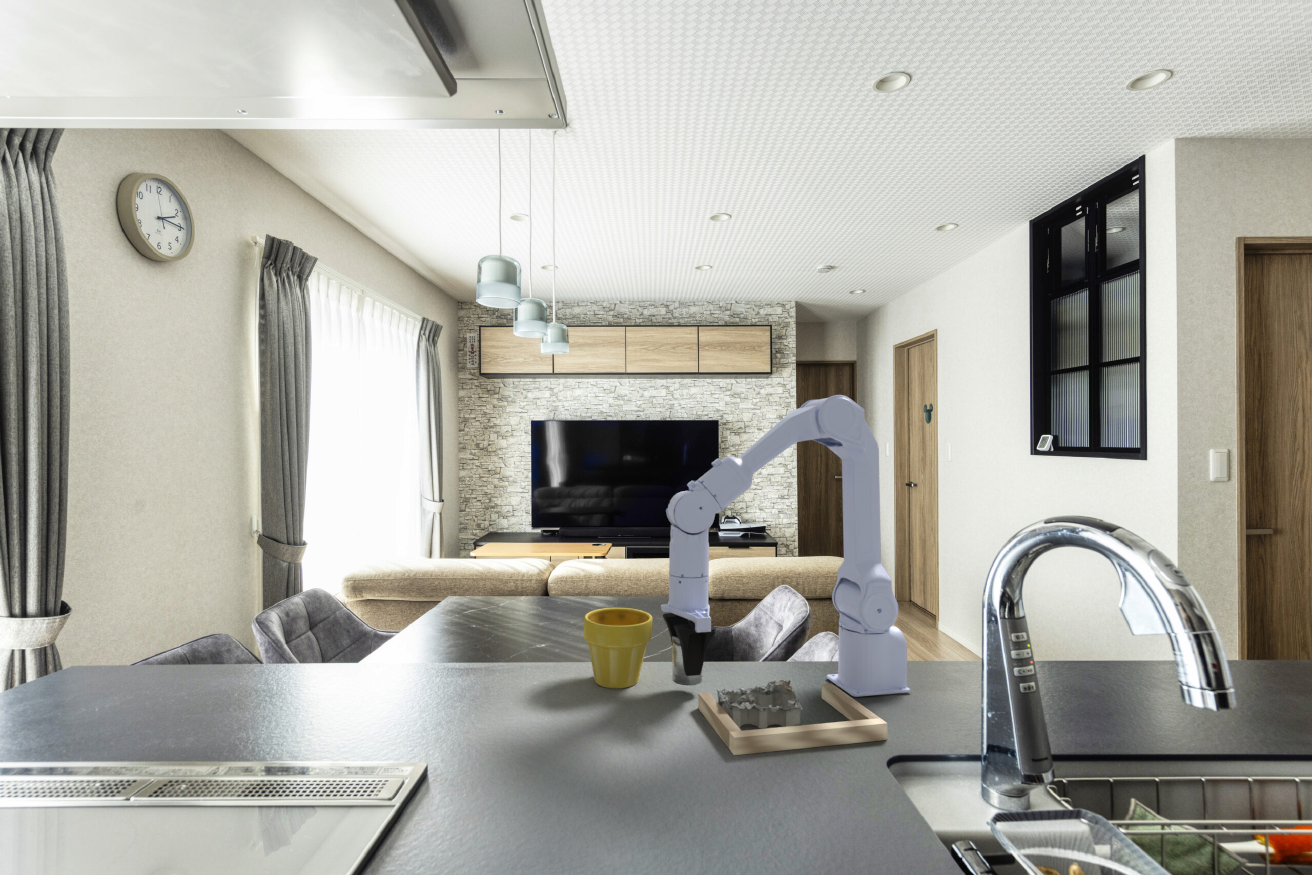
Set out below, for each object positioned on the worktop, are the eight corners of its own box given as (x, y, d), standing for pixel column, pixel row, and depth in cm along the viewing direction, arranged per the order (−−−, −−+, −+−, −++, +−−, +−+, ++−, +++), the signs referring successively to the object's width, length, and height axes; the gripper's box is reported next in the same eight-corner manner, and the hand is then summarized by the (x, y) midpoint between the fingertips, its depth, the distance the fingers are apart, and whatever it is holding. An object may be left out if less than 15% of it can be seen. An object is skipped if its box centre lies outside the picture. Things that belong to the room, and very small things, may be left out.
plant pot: (650, 695, 89) (651, 626, 90) (577, 692, 90) (579, 624, 90) (652, 669, 100) (653, 608, 100) (587, 667, 100) (588, 606, 100)
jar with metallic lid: (697, 673, 93) (698, 631, 93) (707, 684, 89) (708, 641, 89) (667, 675, 92) (668, 633, 92) (676, 686, 88) (677, 642, 88)
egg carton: (793, 709, 86) (793, 679, 86) (804, 733, 79) (805, 700, 79) (715, 705, 87) (716, 676, 87) (719, 729, 79) (720, 697, 79)
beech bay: (831, 697, 90) (831, 683, 90) (887, 739, 77) (887, 723, 77) (698, 707, 85) (698, 693, 85) (733, 755, 72) (734, 737, 72)
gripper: (650, 565, 97) (649, 654, 97) (675, 585, 83) (674, 689, 83) (694, 564, 99) (693, 651, 98) (726, 583, 85) (725, 685, 84)
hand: (687, 668), depth 91 cm, fingers closed on jar with metallic lid, 4 cm apart
